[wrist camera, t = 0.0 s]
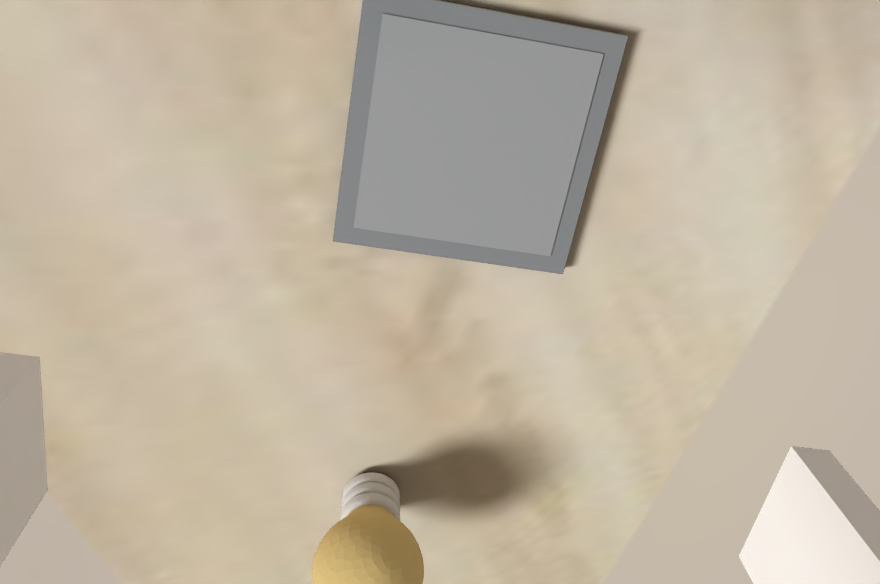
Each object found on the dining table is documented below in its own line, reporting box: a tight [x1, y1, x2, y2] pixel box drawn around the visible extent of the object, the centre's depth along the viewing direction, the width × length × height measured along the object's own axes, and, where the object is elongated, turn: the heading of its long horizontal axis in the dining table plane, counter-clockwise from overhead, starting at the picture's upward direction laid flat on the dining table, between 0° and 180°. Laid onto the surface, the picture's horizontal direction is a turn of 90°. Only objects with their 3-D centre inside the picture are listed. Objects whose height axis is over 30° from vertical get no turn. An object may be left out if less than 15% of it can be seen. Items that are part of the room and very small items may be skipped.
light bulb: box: [312, 472, 424, 584], centre depth 44 cm, size 6×6×10 cm
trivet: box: [333, 0, 628, 274], centre depth 39 cm, size 13×13×1 cm
